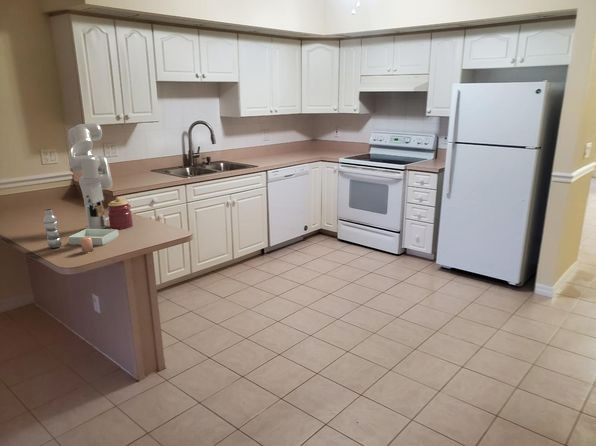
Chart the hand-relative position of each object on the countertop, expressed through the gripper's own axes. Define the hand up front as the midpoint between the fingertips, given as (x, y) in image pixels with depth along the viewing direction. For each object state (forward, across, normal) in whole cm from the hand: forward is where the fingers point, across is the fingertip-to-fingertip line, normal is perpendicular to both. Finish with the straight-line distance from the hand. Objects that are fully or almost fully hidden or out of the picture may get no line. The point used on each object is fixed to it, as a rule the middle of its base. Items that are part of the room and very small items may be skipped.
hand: (97, 214), depth 242 cm
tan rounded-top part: (+15, +17, +4) cm, 22 cm away
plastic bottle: (+15, +12, -18) cm, 26 cm away
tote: (+14, 0, -4) cm, 15 cm away
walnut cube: (+1, 0, 0) cm, 1 cm away
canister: (+14, -26, -4) cm, 30 cm away
